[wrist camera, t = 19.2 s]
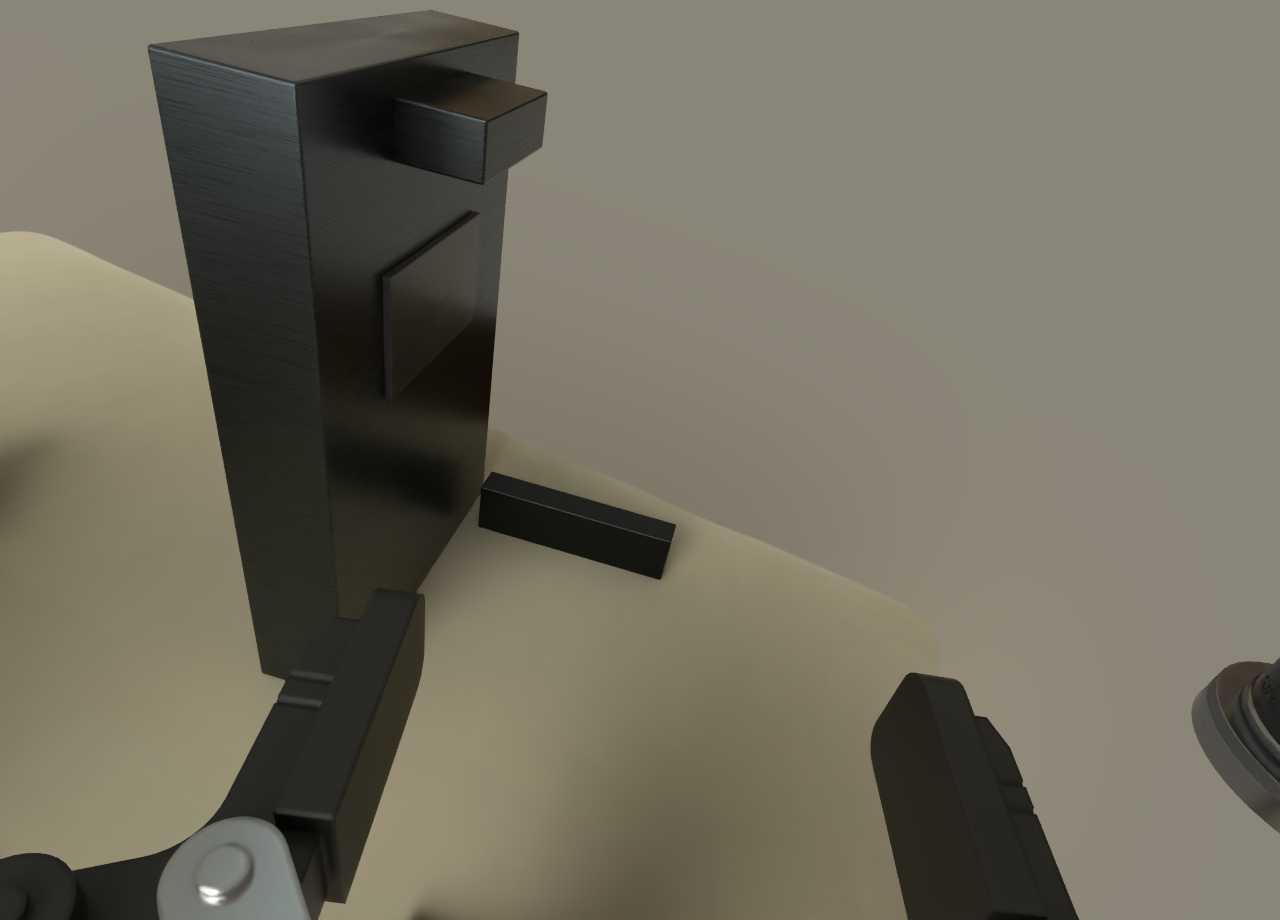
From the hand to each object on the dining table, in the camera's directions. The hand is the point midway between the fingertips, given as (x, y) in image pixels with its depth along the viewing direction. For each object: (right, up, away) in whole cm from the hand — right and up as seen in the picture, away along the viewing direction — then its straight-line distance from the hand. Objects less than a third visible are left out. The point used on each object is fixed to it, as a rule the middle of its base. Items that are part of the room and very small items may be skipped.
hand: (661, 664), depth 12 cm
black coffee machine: (-8, -4, +27) cm, 28 cm away
